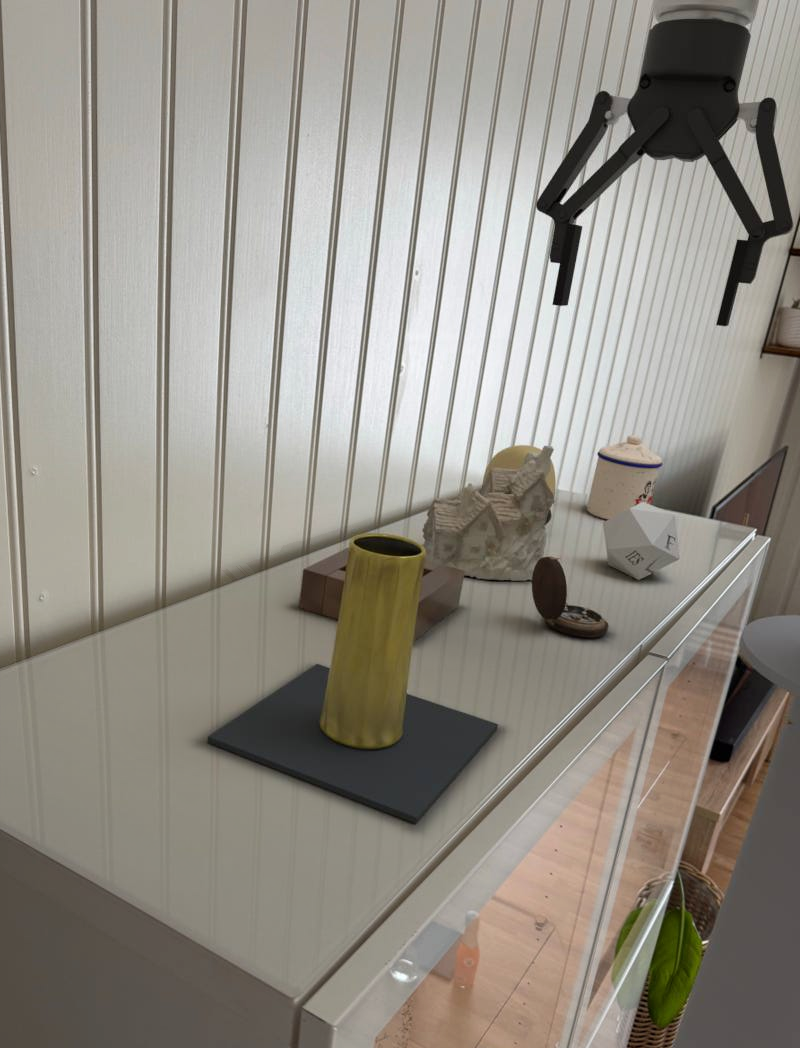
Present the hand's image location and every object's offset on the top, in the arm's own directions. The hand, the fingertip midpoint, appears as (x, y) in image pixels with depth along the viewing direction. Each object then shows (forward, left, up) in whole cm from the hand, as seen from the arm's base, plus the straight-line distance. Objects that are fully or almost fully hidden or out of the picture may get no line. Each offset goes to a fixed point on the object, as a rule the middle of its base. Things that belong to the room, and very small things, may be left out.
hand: (638, 315), depth 82 cm
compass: (+1, -4, -30) cm, 30 cm away
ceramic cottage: (+15, -18, -30) cm, 38 cm away
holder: (+17, +6, -30) cm, 35 cm away
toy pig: (+17, -37, -30) cm, 50 cm away
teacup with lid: (+7, -56, -30) cm, 64 cm away
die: (-1, -28, -30) cm, 41 cm away
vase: (+7, +31, -30) cm, 44 cm away
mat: (+7, +31, -30) cm, 44 cm away
